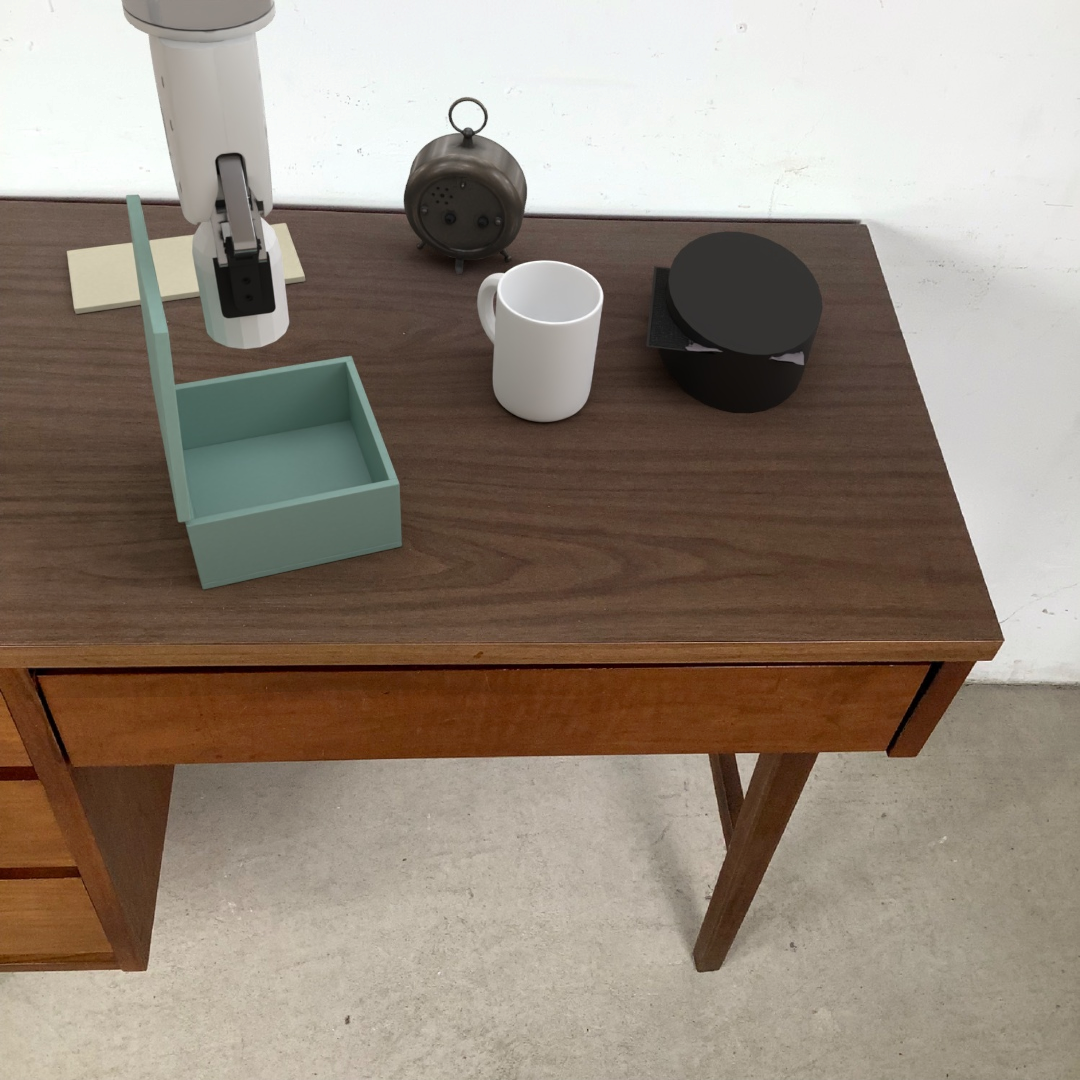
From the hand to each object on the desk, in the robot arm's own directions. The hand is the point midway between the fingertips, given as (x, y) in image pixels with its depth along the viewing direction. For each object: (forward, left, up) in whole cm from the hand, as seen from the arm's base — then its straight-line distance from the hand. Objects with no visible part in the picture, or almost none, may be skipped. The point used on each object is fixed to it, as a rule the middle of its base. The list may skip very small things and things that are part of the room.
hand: (241, 282), depth 67 cm
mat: (-2, +30, -18) cm, 35 cm away
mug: (+23, +7, -19) cm, 30 cm away
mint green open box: (+1, -1, -18) cm, 19 cm away
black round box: (+42, +7, -19) cm, 46 cm away
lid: (-5, -1, -4) cm, 7 cm away
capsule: (0, 0, -3) cm, 3 cm away
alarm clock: (+23, +25, -19) cm, 38 cm away
